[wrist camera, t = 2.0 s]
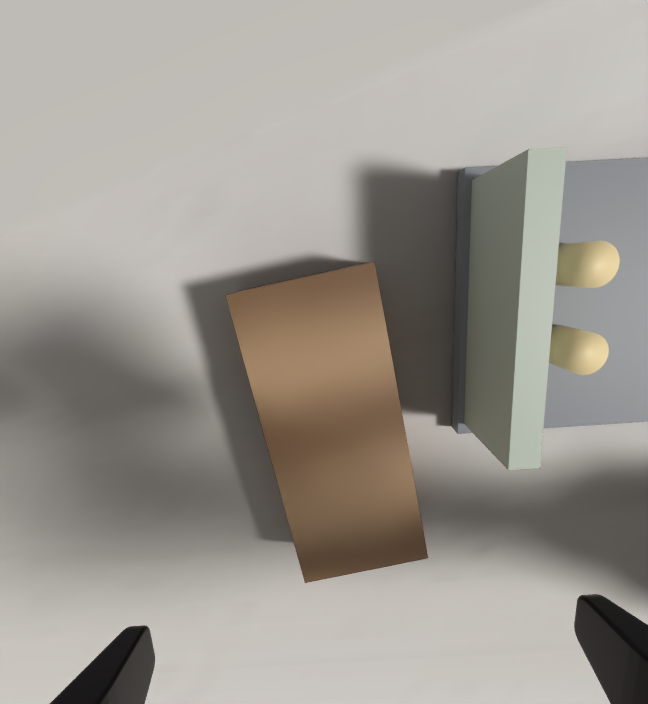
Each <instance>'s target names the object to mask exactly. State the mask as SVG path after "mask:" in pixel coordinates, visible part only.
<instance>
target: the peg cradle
mask: <svg viewBox="0 0 648 704" xmlns="http://www.w3.org/2000/svg"><path fill="white" fill-rule="evenodd" d="M566 153H567V147H563V148H544V149H528V150H526V151H525V152H523V153H521V154H519V155H517V156H515V157H514V158H512V159H510V160H508V161H506V162H504V163H502V164H501V165H499V166H484V167H466V168H464V169H462V170H461V171H459V172H458V190H457V232H456V274H455V316H454V359H453V401H452V428H453V429H454V430H455V431H456V432H457V433H458V434H462V433H473V434H474V435H475V436H476V437H477V438H478V439H479V440H480V441H481V442H482V443H483V444H484V445H485V446H486V447H487V448H488V449H489V450H490V451H491V452H492V454H493V455H494V456H495V457H496V458H497V459H498V460H499V461H500V462H501V463H502V464H503V465H504V466H505V467H506V468H507V469H508V470H518V469H534V468H540V462H541V450H542V438H543V428H555V427H571V426H586V425H602V424H617V423H633V422H648V158H631V159H613V160H594V161H576V162H566Z"/></svg>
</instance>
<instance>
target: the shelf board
mask: <svg viewBox="0 0 648 704" xmlns="http://www.w3.org/2000/svg"><path fill="white" fill-rule="evenodd" d="M226 299H227V303H228V306H229V310H230V314H231V317H232V321H233V324H234V328H235V332H236V335H237V339H238V342H239V346H240V350H241V353H242V357H243V360H244V364H245V368H246V371H247V375H248V379H249V382H250V386H251V389H252V393H253V397H254V400H255V404H256V407H257V411H258V415H259V418H260V422H261V426H262V429H263V433H264V436H265V440H266V444H267V447H268V451H269V454H270V458H271V462H272V465H273V469H274V472H275V476H276V480H277V483H278V487H279V491H280V494H281V498H282V501H283V505H284V509H285V512H286V516H287V519H288V523H289V527H290V530H291V534H292V537H293V541H294V545H295V548H296V552H297V556H298V559H299V563H300V566H301V570H302V574H303V577H304V581H305V583H307V582H312V581H317V580H322V579H327V578H332V577H337V576H342V575H347V574H352V573H357V572H362V571H367V570H372V569H377V568H382V567H387V566H392V565H397V564H402V563H407V562H412V561H416V560H421V559H426V558H428V554H427V549H426V543H425V538H424V532H423V527H422V521H421V516H420V510H419V505H418V499H417V494H416V488H415V483H414V477H413V472H412V466H411V461H410V455H409V449H408V444H407V438H406V433H405V427H404V422H403V416H402V411H401V405H400V400H399V394H398V389H397V383H396V378H395V372H394V367H393V361H392V356H391V350H390V345H389V339H388V333H387V328H386V322H385V317H384V311H383V306H382V300H381V295H380V289H379V284H378V278H377V273H376V267H375V262H370V263H362V264H358V265H353V266H349V267H344V268H340V269H335V270H331V271H327V272H322V273H318V274H313V275H309V276H304V277H300V278H295V279H291V280H286V281H282V282H277V283H273V284H268V285H264V286H259V287H255V288H250V289H246V290H241V291H237V292H234V293H231V294H228V295H226Z"/></svg>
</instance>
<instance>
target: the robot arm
mask: <svg viewBox="0 0 648 704" xmlns="http://www.w3.org/2000/svg"><path fill="white" fill-rule="evenodd" d="M574 628H575V633H576V636H577V639H578V641H579V643H580V645H581V647H582V649H583V651H584V653H585V655H586V657H587V659H588V661H589V662H590V664H591V666H592V668H593V670H594V672H595V674H596V676H597V678H598V680H599V682H600V684H601V686H602V688H603V690H604V691H605V693H606V695H607V697H608V699H609V701H610V703H611V704H648V625H647V624H645V623H644V622H642V621H641V620H639V619H638V618H636V617H635V616H633V615H631V614H630V613H628V612H627V611H625V610H624V609H622V608H621V607H619V606H618V605H616V604H614V603H613V602H611V601H610V600H608V599H607V598H605V597H603V596H601V595H598V594H592V595H581V596H580V597H579V598H578V600H577V607H576V615H575V623H574ZM154 665H155V653H154V649H153V644H152V639H151V634H150V630H149V628H148V627H147V626H145V625H144V626H131V627H128V628H126V629H125V630H123V631H122V632H121V633H120V634H119V635H118V636H117V637H116V638H115V639H114V640H113V641H112V642H111V643H110V644H109V645H108V646H107V647H106V648H105V649H104V650H103V651H102V652H101V653H100V654H99V655H98V656H97V657H96V658H95V659H94V660H93V661H92V662H91V663H90V664H89V665H88V666H87V667H86V668H85V669H84V670H83V671H82V672H81V673H80V674H79V675H78V676H77V677H76V678H75V679H74V680H73V681H72V682H71V683H70V684H69V685H68V686H67V687H66V688H65V689H64V690H63V691H62V692H61V693H60V694H59V695H58V696H57V697H56V698H55V699H54V700H53V701H52V702H51V703H50V704H145V700H146V696H147V693H148V689H149V685H150V681H151V678H152V674H153V670H154Z"/></svg>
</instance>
